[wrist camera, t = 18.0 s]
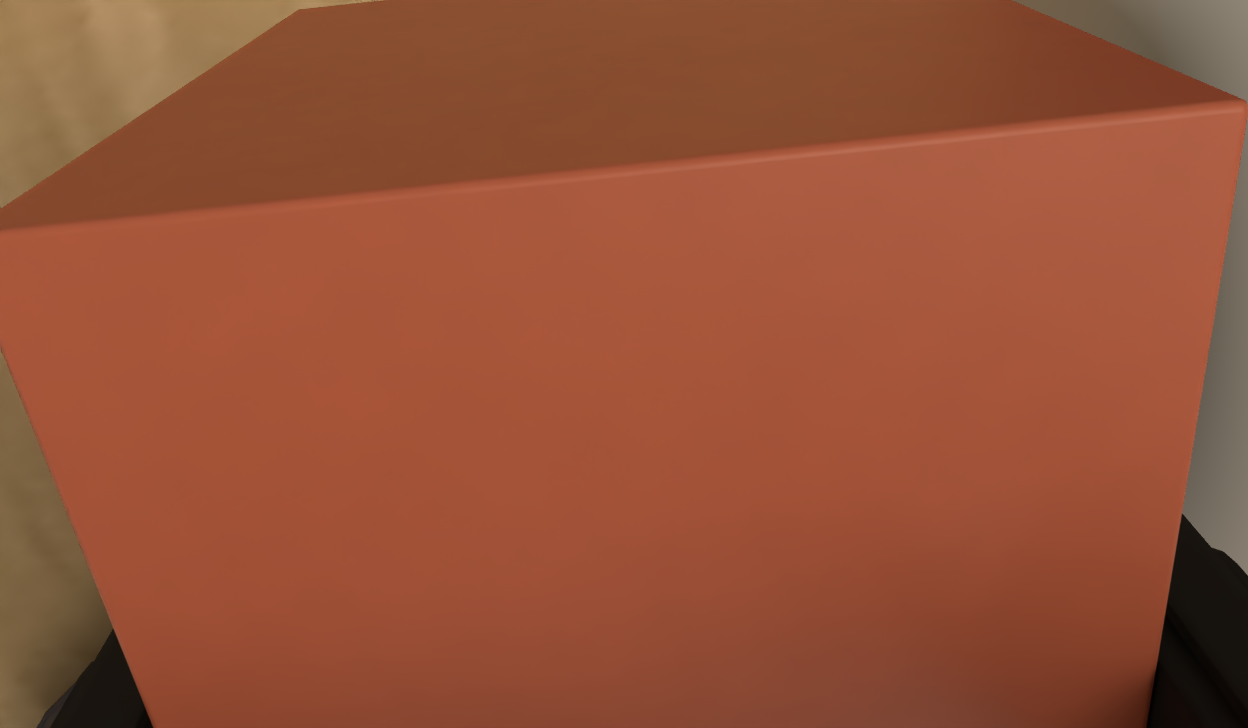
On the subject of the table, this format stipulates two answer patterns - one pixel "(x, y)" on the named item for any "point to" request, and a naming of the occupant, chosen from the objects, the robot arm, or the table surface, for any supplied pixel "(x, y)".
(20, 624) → the table surface
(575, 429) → the orange juice carton
